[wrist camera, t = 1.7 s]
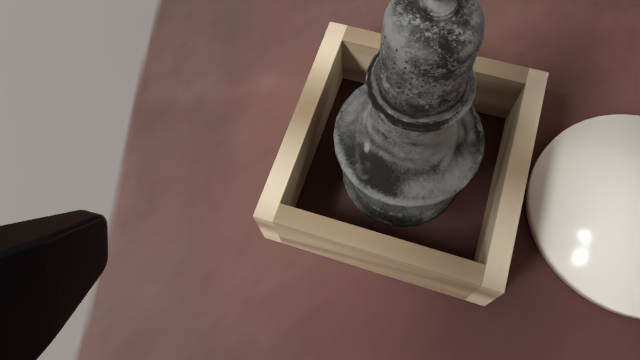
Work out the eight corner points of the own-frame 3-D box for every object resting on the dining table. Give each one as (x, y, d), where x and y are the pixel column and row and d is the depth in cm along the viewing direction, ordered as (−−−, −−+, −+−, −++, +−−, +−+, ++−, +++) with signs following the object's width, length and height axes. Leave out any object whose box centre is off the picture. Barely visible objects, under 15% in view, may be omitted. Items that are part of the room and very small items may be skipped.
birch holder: (484, 306, 21) (504, 293, 18) (264, 237, 23) (252, 216, 20) (526, 108, 25) (548, 72, 22) (332, 61, 26) (330, 21, 23)
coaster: (744, 352, 20) (754, 351, 19) (507, 281, 22) (512, 278, 21) (750, 150, 23) (760, 144, 23) (543, 100, 25) (548, 93, 24)
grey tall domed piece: (461, 114, 25) (553, -114, 14) (470, 234, 22) (588, 79, 11) (337, 114, 25) (326, -109, 14) (333, 232, 23) (318, 79, 12)
